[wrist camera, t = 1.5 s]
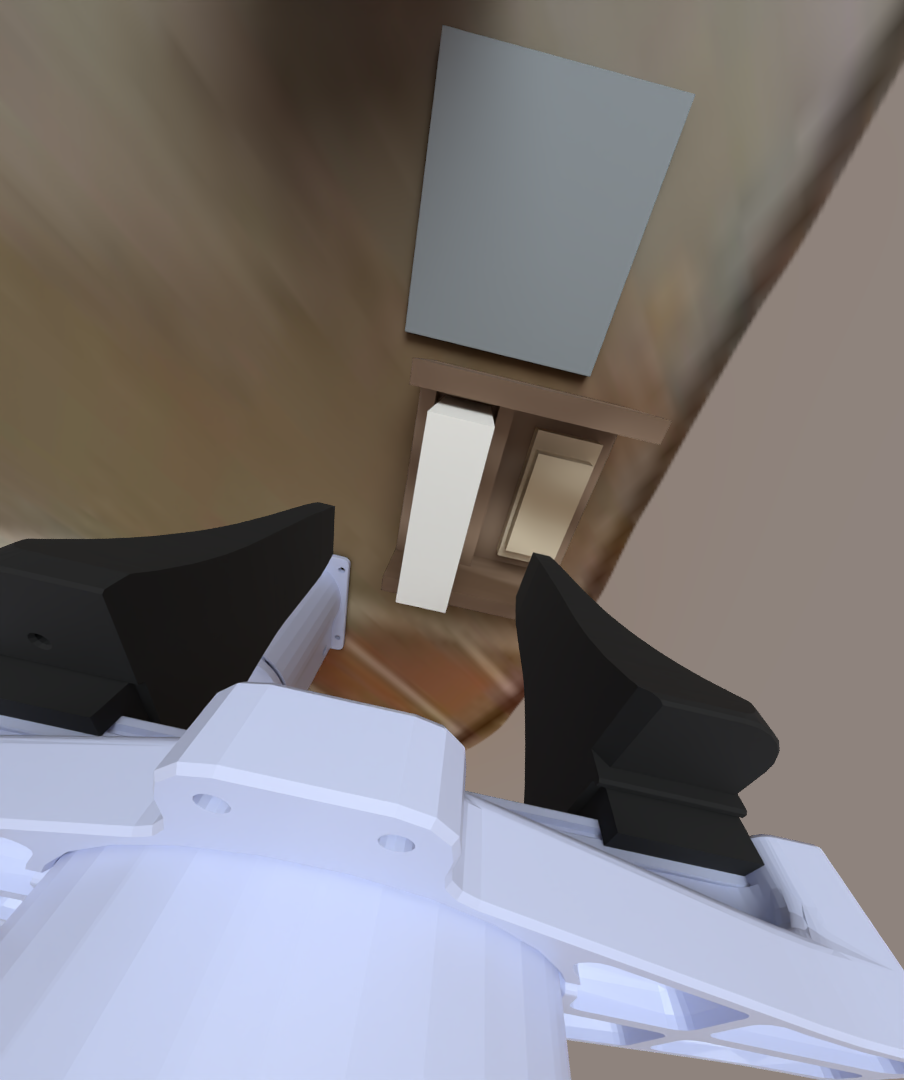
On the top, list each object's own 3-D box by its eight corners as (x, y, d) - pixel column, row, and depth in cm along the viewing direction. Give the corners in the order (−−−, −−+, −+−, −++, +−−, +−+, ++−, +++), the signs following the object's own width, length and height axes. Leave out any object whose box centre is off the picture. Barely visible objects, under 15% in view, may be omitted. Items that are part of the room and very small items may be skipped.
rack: (548, 577, 24) (564, 630, 19) (401, 544, 24) (380, 589, 19) (622, 406, 19) (672, 420, 14) (431, 359, 18) (413, 357, 13)
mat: (586, 376, 18) (589, 376, 18) (407, 331, 18) (405, 330, 17) (687, 105, 13) (695, 94, 13) (444, 38, 13) (442, 24, 12)
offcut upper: (550, 553, 21) (553, 561, 20) (504, 542, 21) (505, 550, 20) (588, 461, 18) (594, 466, 17) (536, 449, 18) (538, 453, 17)
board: (455, 544, 22) (445, 613, 16) (419, 536, 22) (395, 602, 16) (490, 405, 18) (494, 427, 12) (446, 395, 18) (427, 411, 12)
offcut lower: (548, 559, 22) (550, 567, 22) (496, 547, 22) (497, 555, 21) (597, 441, 19) (603, 445, 18) (535, 426, 19) (538, 429, 18)
